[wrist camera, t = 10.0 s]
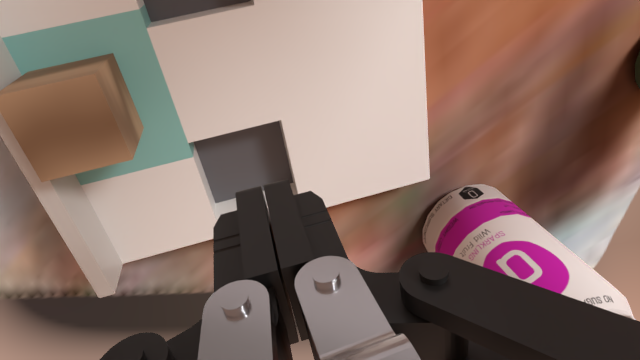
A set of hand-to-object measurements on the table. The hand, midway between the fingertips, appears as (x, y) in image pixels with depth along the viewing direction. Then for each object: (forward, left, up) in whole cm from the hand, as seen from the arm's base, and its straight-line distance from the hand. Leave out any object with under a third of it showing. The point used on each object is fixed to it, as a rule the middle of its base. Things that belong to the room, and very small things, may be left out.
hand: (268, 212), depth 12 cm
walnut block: (0, -8, -16) cm, 18 cm away
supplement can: (+18, +16, -18) cm, 30 cm away
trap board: (0, 0, -18) cm, 18 cm away
